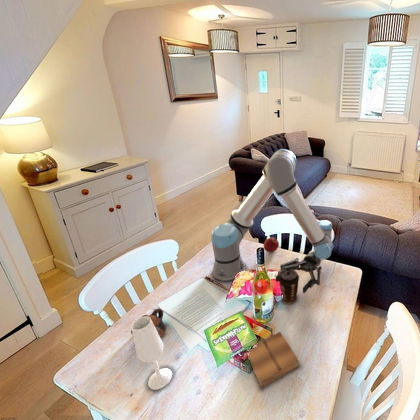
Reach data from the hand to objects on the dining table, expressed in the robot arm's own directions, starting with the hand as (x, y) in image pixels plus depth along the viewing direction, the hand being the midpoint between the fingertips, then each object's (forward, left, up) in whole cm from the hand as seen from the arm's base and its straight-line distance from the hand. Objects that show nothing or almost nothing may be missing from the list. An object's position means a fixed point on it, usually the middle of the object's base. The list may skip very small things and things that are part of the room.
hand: (289, 284), depth 113 cm
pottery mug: (-12, -51, -7) cm, 53 cm away
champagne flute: (+9, -51, -7) cm, 53 cm away
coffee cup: (0, 0, -7) cm, 7 cm away
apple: (-36, +9, -7) cm, 38 cm away
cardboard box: (+22, -19, -7) cm, 30 cm away
